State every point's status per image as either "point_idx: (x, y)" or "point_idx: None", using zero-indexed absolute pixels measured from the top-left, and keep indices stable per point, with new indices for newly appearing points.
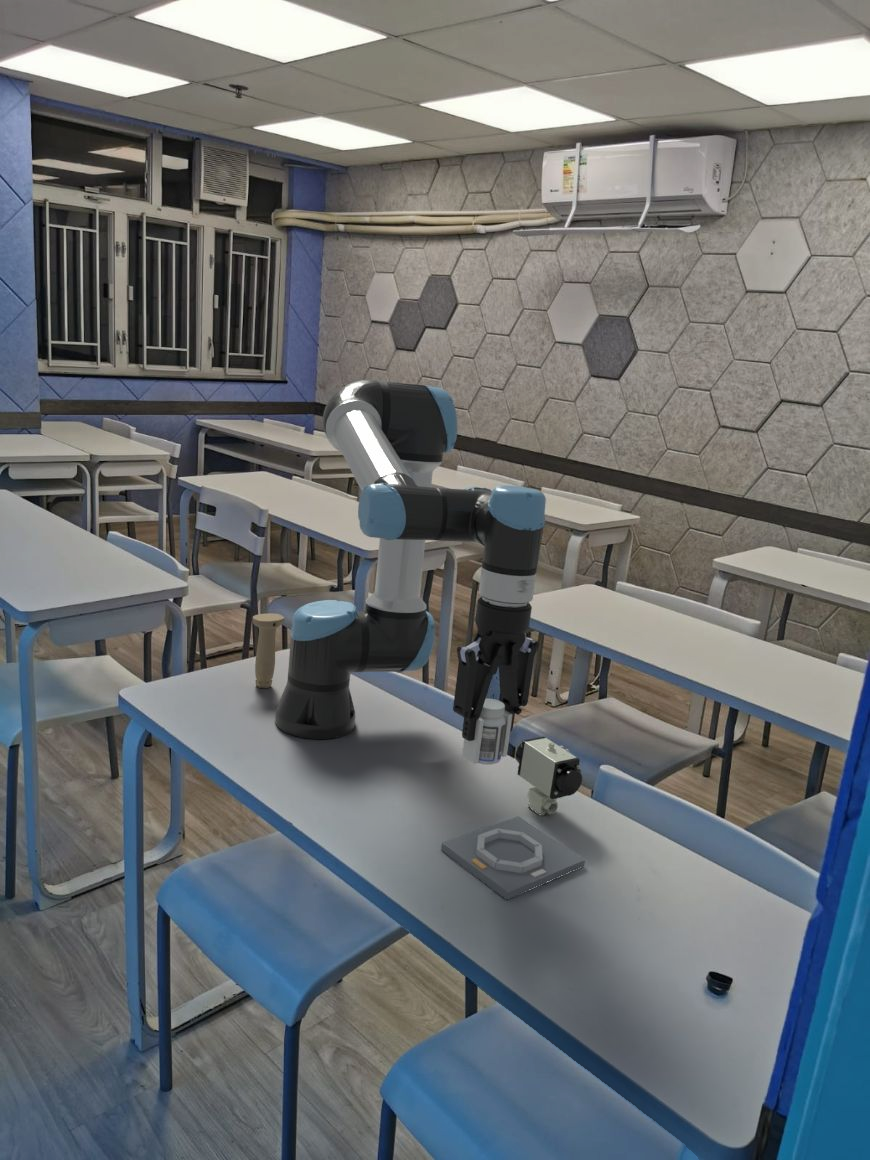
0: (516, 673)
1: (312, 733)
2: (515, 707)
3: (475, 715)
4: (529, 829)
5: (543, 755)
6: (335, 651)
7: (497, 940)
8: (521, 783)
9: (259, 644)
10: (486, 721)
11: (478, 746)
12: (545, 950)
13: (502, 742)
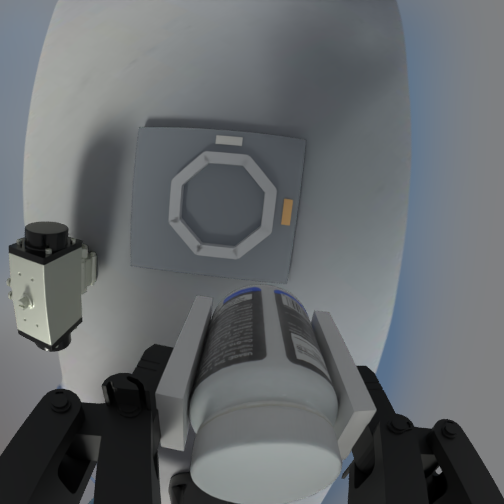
0: None
1: None
2: (128, 413)
3: (409, 429)
4: (143, 231)
5: (46, 297)
6: None
7: (373, 105)
8: None
9: None
10: (329, 406)
11: (335, 341)
12: (339, 59)
13: (236, 317)
